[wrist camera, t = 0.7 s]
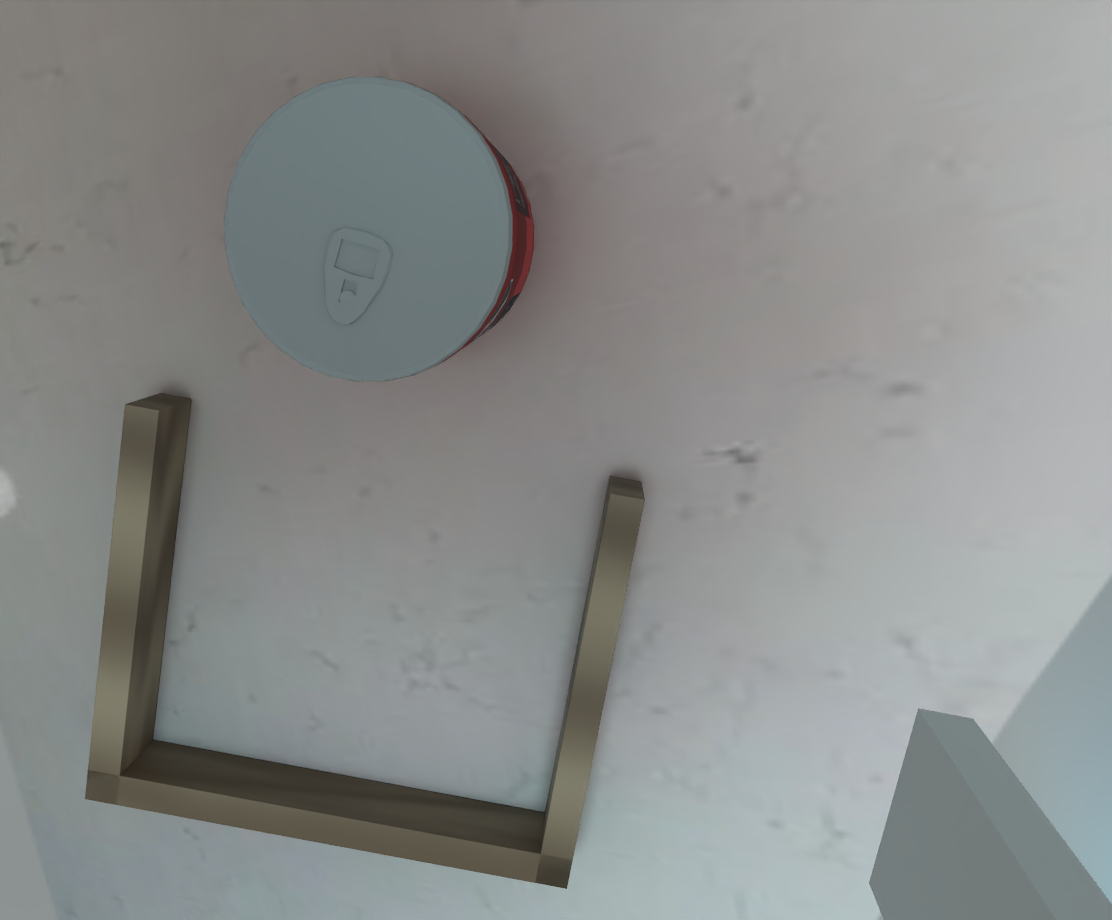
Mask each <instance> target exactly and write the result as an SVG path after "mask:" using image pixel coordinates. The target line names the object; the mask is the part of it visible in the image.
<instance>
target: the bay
mask: <svg viewBox="0 0 1112 920" xmlns="http://www.w3.org/2000/svg"><path fill="white" fill-rule="evenodd" d="M190 406H191V399H187V398H182V397H176V396H171V395H166V394H157V395H153V396H150V397H147V398H144V399H141V400H137V401H134V402H131V403H128V404H125V410H124V420H123V430H122V440H121V450H120V459H119V469H118V479H117V489H116V499H115V509H114V519H113V528H112V538H111V548H110V558H109V568H108V578H107V588H106V598H105V607H104V617H103V627H102V637H101V647H100V657H99V667H98V677H97V686H96V696H95V706H94V716H93V726H92V736H91V746H90V756H89V765H88V775H87V785H86V795H85V799H88V800H94V801H99V802H104V803H110V804H115V805H120V806H126V807H131V808H137V809H142V810H147V811H153V812H158V813H163V814H169V815H174V816H179V817H185V818H190V819H196V820H201V821H206V822H212V823H217V824H222V825H228V826H233V827H239V828H244V829H249V830H255V831H260V832H265V833H271V834H276V835H282V836H287V837H292V838H298V839H303V840H308V841H314V842H319V843H325V844H330V845H335V846H341V847H346V848H351V849H357V850H362V851H367V852H373V853H378V854H384V855H389V856H394V857H400V858H405V859H410V860H416V861H421V862H427V863H432V864H437V865H443V866H448V867H453V868H459V869H464V870H470V871H475V872H480V873H486V874H491V875H496V876H502V877H507V878H513V879H518V880H523V881H529V882H534V883H539V884H545V885H550V886H555V887H561V888H566V889H567V885H568V880H569V875H570V870H571V865H572V860H573V855H574V850H575V845H576V840H577V835H578V830H579V825H580V820H581V815H582V810H583V805H584V800H585V795H586V790H587V785H588V780H589V775H590V770H591V765H592V760H593V755H594V750H595V745H596V740H597V735H598V730H599V725H600V720H601V715H602V710H603V705H604V700H605V695H606V690H607V685H608V680H609V675H610V670H611V665H612V660H613V655H614V650H615V645H616V640H617V636H618V631H619V626H620V621H621V616H622V611H623V606H624V601H625V596H626V591H627V586H628V581H629V576H630V571H631V566H632V561H633V556H634V551H635V546H636V541H637V536H638V531H639V526H640V521H641V516H642V511H643V506H644V501H645V499H644V493H643V488H642V483H641V482H639V481H633V480H628V479H623V478H617V477H612V476H610V478H609V484H608V489H607V494H606V499H605V504H604V509H603V515H602V520H601V525H600V530H599V535H598V540H597V546H596V551H595V556H594V561H593V566H592V571H591V577H590V582H589V587H588V592H587V597H586V603H585V608H584V613H583V618H582V623H581V628H580V634H579V639H578V644H577V649H576V654H575V659H574V665H573V670H572V675H571V680H570V685H569V691H568V696H567V701H566V706H565V711H564V716H563V722H562V727H561V732H560V737H559V742H558V747H557V753H556V758H555V763H554V768H553V773H552V779H551V784H550V789H549V794H548V799H547V804H546V810H545V813H543V812H538V811H532V810H527V809H521V808H516V807H511V806H505V805H500V804H495V803H489V802H484V801H478V800H473V799H468V798H462V797H457V796H452V795H446V794H441V793H435V792H430V791H425V790H419V789H414V788H408V787H403V786H398V785H392V784H387V783H382V782H376V781H371V780H365V779H360V778H355V777H349V776H344V775H338V774H333V773H328V772H322V771H317V770H312V769H306V768H301V767H295V766H290V765H285V764H279V763H274V762H268V761H263V760H258V759H252V758H247V757H242V756H236V755H231V754H225V753H220V752H215V751H209V750H204V749H199V748H193V747H188V746H182V745H177V744H172V743H166V742H161V741H155V740H153V732H154V723H155V715H156V706H157V697H158V688H159V679H160V671H161V662H162V653H163V644H164V635H165V626H166V618H167V609H168V600H169V591H170V582H171V574H172V565H173V556H174V547H175V538H176V529H177V521H178V512H179V503H180V494H181V485H182V477H183V468H184V459H185V450H186V441H187V432H188V424H189V415H190Z"/></svg>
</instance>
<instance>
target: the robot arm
mask: <svg viewBox="0 0 1112 920" xmlns="http://www.w3.org/2000/svg"><path fill="white" fill-rule="evenodd" d="M869 884H870V886H871V889H872V891H873V894H874V896H875V899H876V901H877V904H878V906H879V909H880V911H881V914H882V916H883V919H884V920H1112V904H1111V902H1110V901H1109V900H1108V898H1107V897H1106V896H1105V894H1104V893H1103V892H1102V890H1101V889H1100V888H1099V886H1098V885H1097V884H1096V882H1095V881H1094V880H1093V878H1092V877H1091V876H1090V874H1089V873H1088V872H1087V870H1086V869H1085V868H1084V866H1083V865H1082V864H1081V862H1080V861H1079V860H1078V858H1077V857H1076V856H1075V854H1074V853H1073V852H1072V850H1071V849H1070V848H1069V846H1068V845H1067V844H1066V842H1065V841H1064V840H1063V838H1062V837H1061V836H1060V834H1059V833H1058V832H1057V831H1056V829H1055V828H1054V826H1053V825H1052V824H1051V822H1050V821H1049V820H1048V818H1047V817H1046V816H1045V814H1044V813H1043V812H1042V810H1041V809H1040V808H1039V806H1038V805H1037V804H1036V802H1035V801H1034V800H1033V798H1032V797H1031V796H1030V794H1029V793H1028V791H1027V790H1026V789H1025V787H1024V786H1023V785H1022V783H1020V781H1019V779H1018V778H1017V777H1016V776H1015V774H1014V773H1013V772H1012V770H1011V769H1010V768H1009V766H1008V765H1007V764H1006V762H1005V761H1004V759H1003V758H1002V757H1001V755H1000V754H999V753H998V751H997V750H996V749H995V747H994V746H993V745H992V743H991V742H990V741H989V739H988V738H987V737H986V735H985V734H984V733H983V731H982V730H981V729H980V727H979V726H978V725H977V723H976V722H975V721H974V719H971V718H966V717H961V716H956V715H950V714H945V713H940V712H935V711H929V710H924V709H919V708H918V711H917V715H916V719H915V722H914V726H913V729H912V733H911V736H910V740H909V743H908V747H907V750H906V754H905V758H904V761H903V765H902V768H901V772H900V775H899V779H898V782H897V786H896V790H895V793H894V797H893V800H892V804H891V807H890V811H889V814H888V818H887V821H886V825H885V829H884V832H883V836H882V839H881V843H880V846H879V850H878V853H877V857H876V860H875V864H874V868H873V871H872V875H871V878H870V882H869Z"/></svg>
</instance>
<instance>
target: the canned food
mask: <svg viewBox="0 0 1112 920" xmlns="http://www.w3.org/2000/svg"><path fill="white" fill-rule="evenodd" d="M224 223H225V247H226V254H227V258H228V262H229V267H230V271H231V276H232V279H233V282H234V284H235V286H236V289H237V291H238V293H239V296H240V298H241V300H242V303H243V305H244V306H245V308H246V309H247V311H248V312H249V314H250V315H251V317H252V318H253V320H254V321H255V323H256V324H257V326H258V327H259V329H260V330H261V331H262V332H263V333H264V334H265V335H266V336H267V337H268V338H269V339H270V340H271V341H272V342H273V343H274V344H275V345H276V346H277V347H278V348H279V349H280V350H281V351H283V352H284V353H286V354H287V355H289V356H290V357H292V358H293V359H295V360H296V361H297V362H299V363H300V364H302V365H304V366H306V367H308V368H311V369H313V370H315V371H318V372H320V373H323V374H325V375H327V376H331V377H336V378H341V379H346V380H351V381H389V380H394V379H399V378H403V377H408V376H413V375H415V374H417V373H420V372H422V371H424V370H427V369H429V368H431V367H433V366H436V365H438V364H439V363H441V362H444V361H445V360H447V359H448V358H450V357H451V356H452V355H454V354H455V353H457V352H458V351H460V350H461V349H462V348H464V347H465V346H467V345H468V344H469V343H471V342H472V341H474V340H475V339H476V338H478V337H479V336H481V335H482V334H483V333H485V332H486V331H488V330H489V329H490V328H492V327H493V326H495V325H496V323H497V322H498V321H499V320H500V319H501V318H502V317H503V316H504V315H505V314H506V313H507V312H508V311H509V310H510V308H511V307H512V305H513V303H514V302H515V300H516V299H517V297H518V296H519V294H520V292H521V290H522V288H523V285H524V283H525V280H526V278H527V275H528V273H529V270H530V265H531V260H532V255H533V250H534V225H533V219H532V213H531V208H530V203H529V201H528V198H527V195H526V193H525V190H524V188H523V185H522V183H521V181H520V180H519V178H518V176H517V175H516V173H515V171H514V170H513V168H512V167H511V165H510V164H509V163H508V162H507V160H506V159H505V158H504V157H503V156H502V155H501V154H500V153H499V152H498V150H497V149H496V148H495V147H494V146H493V145H492V144H491V143H490V142H489V141H488V139H487V138H486V137H485V136H484V135H483V134H482V133H481V132H480V131H479V130H478V129H477V128H476V126H475V125H474V124H473V123H472V122H471V121H470V120H469V119H468V118H467V117H466V116H465V115H463V114H462V113H461V112H460V111H459V110H457V109H456V108H454V107H453V106H451V105H450V104H449V103H447V102H446V101H444V100H443V99H442V98H440V97H439V96H437V95H436V94H433V93H431V92H429V91H426V90H424V89H422V88H419V87H417V86H415V85H413V84H410V83H405V82H400V81H395V80H390V79H385V78H380V77H349V78H344V79H340V80H336V81H332V82H328V83H323V84H320V85H318V86H316V87H314V88H312V89H310V90H308V91H305V92H303V93H301V94H299V95H297V96H295V97H294V98H292V99H291V100H290V101H289V102H287V103H286V104H285V105H283V106H282V107H281V108H279V109H278V110H277V111H276V112H274V113H273V114H272V115H271V116H270V117H269V118H268V119H267V121H266V122H265V123H264V124H263V125H262V126H261V127H260V129H259V130H258V131H257V132H256V133H255V134H254V136H253V137H252V139H251V140H250V142H249V144H248V146H247V147H246V149H245V151H244V153H243V154H242V156H241V158H240V160H239V161H238V164H237V167H236V170H235V173H234V176H233V179H232V182H231V185H230V188H229V191H228V198H227V205H226V212H225V219H224Z"/></svg>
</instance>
